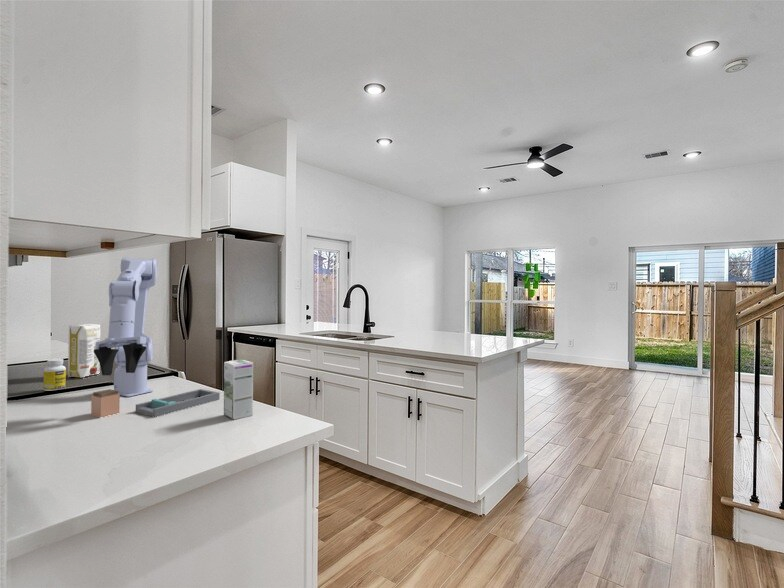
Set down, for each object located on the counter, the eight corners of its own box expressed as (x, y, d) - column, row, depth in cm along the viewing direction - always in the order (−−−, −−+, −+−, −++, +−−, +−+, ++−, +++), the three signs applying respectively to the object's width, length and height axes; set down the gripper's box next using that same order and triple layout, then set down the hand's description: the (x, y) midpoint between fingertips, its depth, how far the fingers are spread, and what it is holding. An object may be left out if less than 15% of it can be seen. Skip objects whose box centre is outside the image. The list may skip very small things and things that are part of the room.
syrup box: (253, 415, 108) (254, 361, 108) (232, 420, 104) (233, 364, 104) (243, 410, 112) (244, 358, 112) (222, 415, 108) (223, 361, 107)
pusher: (151, 408, 111) (151, 399, 111) (168, 403, 116) (168, 395, 116) (164, 411, 109) (164, 402, 109) (181, 407, 113) (182, 398, 113)
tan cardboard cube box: (91, 415, 105) (91, 392, 105) (109, 410, 109) (110, 388, 109) (100, 418, 103) (101, 394, 103) (119, 413, 107) (119, 391, 107)
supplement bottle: (55, 392, 125) (56, 361, 125) (38, 392, 125) (38, 361, 125) (70, 388, 131) (70, 358, 131) (53, 388, 131) (53, 358, 131)
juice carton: (103, 374, 151) (104, 324, 151) (81, 379, 143) (82, 326, 143) (86, 373, 153) (87, 323, 152) (64, 378, 144) (64, 325, 144)
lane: (135, 411, 109) (135, 404, 109) (200, 395, 127) (200, 388, 126) (155, 417, 105) (155, 409, 105) (219, 399, 123) (219, 392, 123)
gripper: (86, 324, 108) (81, 376, 105) (131, 318, 105) (128, 371, 102) (110, 327, 114) (106, 376, 111) (153, 321, 111) (150, 371, 108)
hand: (118, 374), depth 107 cm, fingers open, 7 cm apart
